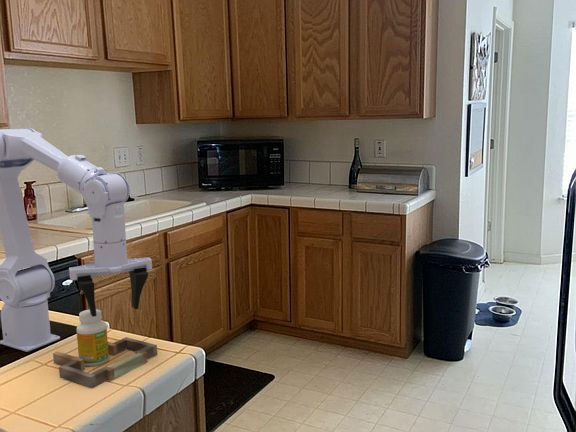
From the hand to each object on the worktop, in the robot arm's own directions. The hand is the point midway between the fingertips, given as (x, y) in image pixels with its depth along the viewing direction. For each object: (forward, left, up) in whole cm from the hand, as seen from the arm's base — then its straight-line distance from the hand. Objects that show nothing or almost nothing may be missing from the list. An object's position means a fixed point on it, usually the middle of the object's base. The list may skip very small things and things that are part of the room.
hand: (114, 311), depth 104 cm
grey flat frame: (-3, -2, -10) cm, 11 cm away
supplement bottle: (-4, -2, -10) cm, 11 cm away
